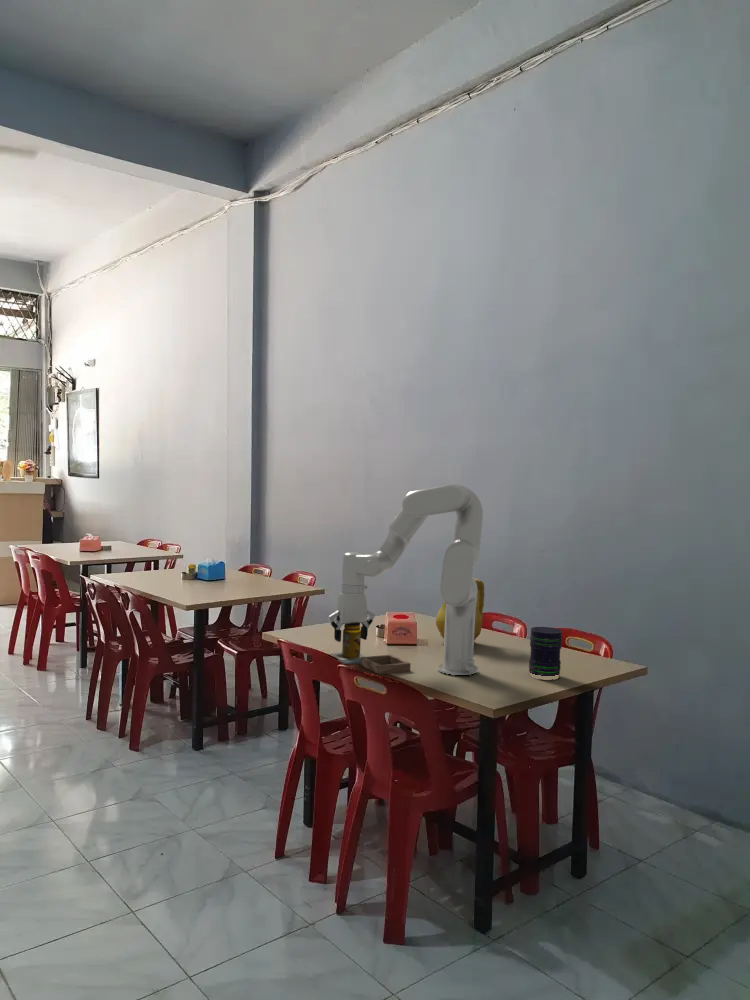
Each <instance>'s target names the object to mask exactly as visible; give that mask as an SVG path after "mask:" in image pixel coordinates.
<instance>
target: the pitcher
mask: <svg viewBox="0 0 750 1000" xmlns="http://www.w3.org/2000/svg"><path fill="white" fill-rule="evenodd" d="M473 578H474V580H475V582H476V584H477V601H476V610H475V627H474V645H476V642H475V641H476V639H477V638H478V637H480V634H481V632H482V627H483V618H484V613H483V611H484V605H485V604H484V603H485V596H486V595H485V584H484V582H483V581H482V580H480V579H478V578H476V577H473ZM445 612H446V603H445V602H444V601H443V603H442V604H441V606H440V608H439V610H438V612H437V614H436V618H435V625H436V627H437V630H438V632H439V634H440V637H441V638H442V639H443V640H444V631H445Z"/></svg>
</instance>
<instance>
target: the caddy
mask: <svg viewBox="0 0 750 1000" xmlns="http://www.w3.org/2000/svg"><path fill="white" fill-rule="evenodd" d="M411 664H412V663H410V662H408V661H406V660H404V659H402V658H400V657H397V656H395V655H393V654H384V655H382V654H381V655H372V656H365V657H361V663H360V666H362V667H363V668H366V669H368V670H370V671H372V672H374V673H376V674H377V675H385V674H395V673H403V672H404V673H406V672H411Z"/></svg>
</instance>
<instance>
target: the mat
mask: <svg viewBox="0 0 750 1000" xmlns="http://www.w3.org/2000/svg"><path fill="white" fill-rule="evenodd" d="M330 654H331V655H333V656H334V654H342V652H334V653H333V652H331V653H330ZM359 656H361V657H366V656H365V655H363V654H361V653H360V655H359ZM334 657H335V656H334ZM336 658H337V657H336ZM337 659H338V660H337V661H338V662H340V663H342V664H344V665H353V664H361V659H347V660H341V659H339V658H337Z"/></svg>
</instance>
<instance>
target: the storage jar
mask: <svg viewBox="0 0 750 1000" xmlns="http://www.w3.org/2000/svg"><path fill="white" fill-rule="evenodd" d="M562 633H563V631H562V630H561V629H558V628H555V627H548V626H534V627H531V628H530V636H529V640H530V642H529V646H530V655H529V656H530V657H529V659H528V671H529V672H530V673H532V674H535V675H541V676H555V675H559V676H560V674H561V664H562V663H561V662H562V660H561V649H562V647H563V646H562V642H563V639H562ZM529 672H528V673H529Z"/></svg>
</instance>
